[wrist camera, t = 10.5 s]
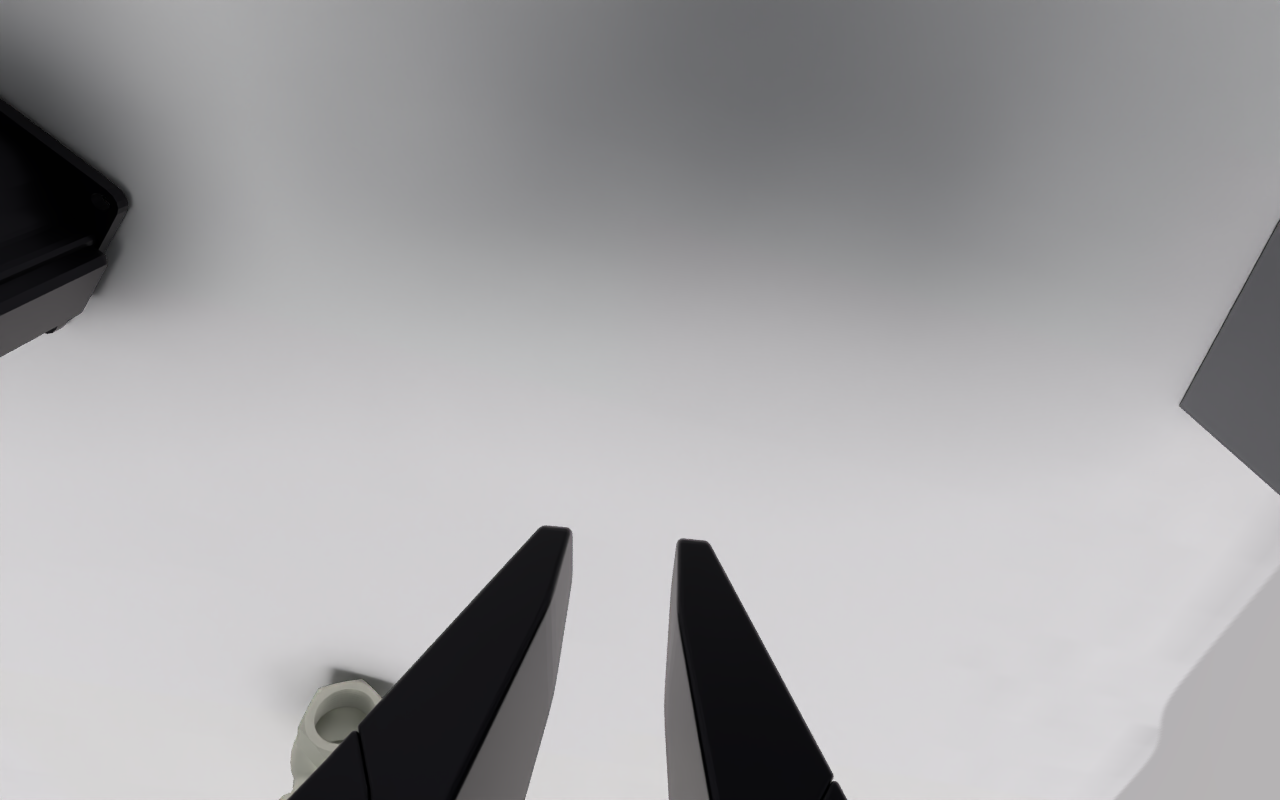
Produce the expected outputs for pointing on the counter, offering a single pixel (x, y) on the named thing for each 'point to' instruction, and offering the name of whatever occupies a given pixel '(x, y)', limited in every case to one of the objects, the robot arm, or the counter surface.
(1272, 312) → the side door
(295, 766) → the valve
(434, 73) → the counter surface
